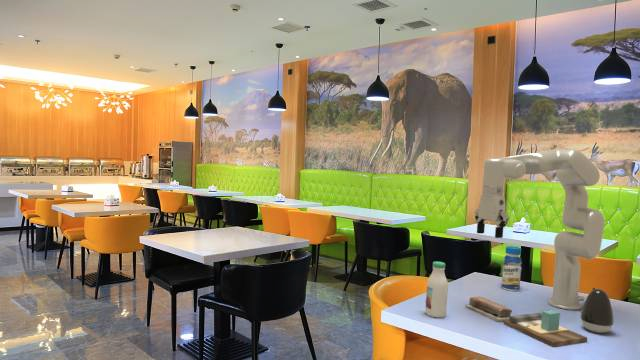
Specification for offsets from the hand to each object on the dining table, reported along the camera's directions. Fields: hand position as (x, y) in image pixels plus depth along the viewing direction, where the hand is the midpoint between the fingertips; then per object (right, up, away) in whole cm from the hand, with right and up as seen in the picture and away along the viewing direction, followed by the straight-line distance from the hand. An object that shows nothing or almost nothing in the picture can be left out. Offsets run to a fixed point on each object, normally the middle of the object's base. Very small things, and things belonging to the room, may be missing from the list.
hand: (489, 235), depth 176 cm
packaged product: (+2, -32, +4) cm, 32 cm away
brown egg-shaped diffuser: (+35, -34, -9) cm, 50 cm away
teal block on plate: (+14, -31, -16) cm, 38 cm away
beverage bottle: (+26, -31, +42) cm, 58 cm away
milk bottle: (-21, -30, -2) cm, 37 cm away
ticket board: (+14, -32, -15) cm, 38 cm away
